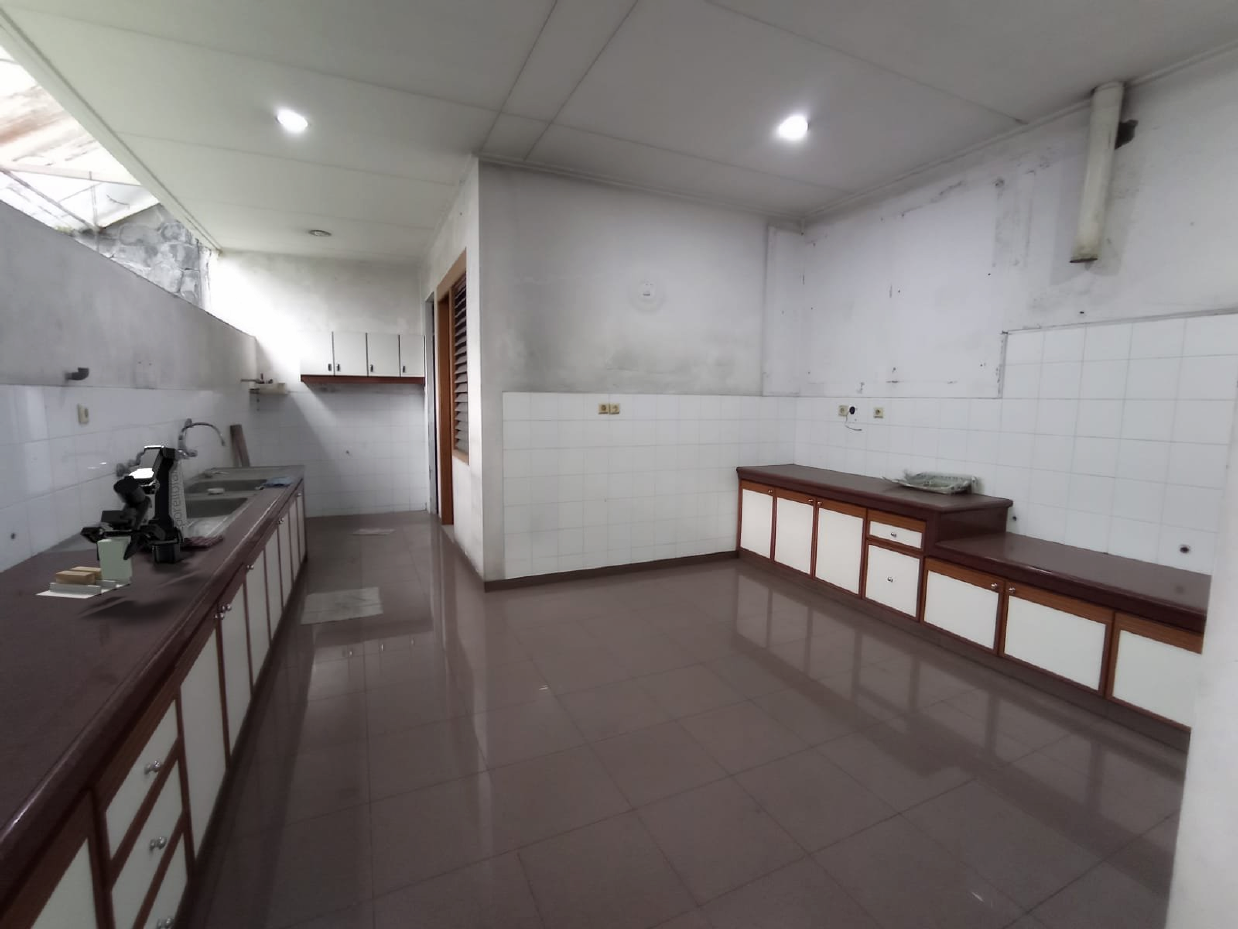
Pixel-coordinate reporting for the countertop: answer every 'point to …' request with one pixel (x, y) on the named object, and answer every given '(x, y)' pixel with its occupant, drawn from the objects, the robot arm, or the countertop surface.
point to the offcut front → (89, 569)
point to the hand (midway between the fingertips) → (111, 560)
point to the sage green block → (114, 559)
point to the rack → (84, 588)
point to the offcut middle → (75, 578)
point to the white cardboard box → (177, 501)
